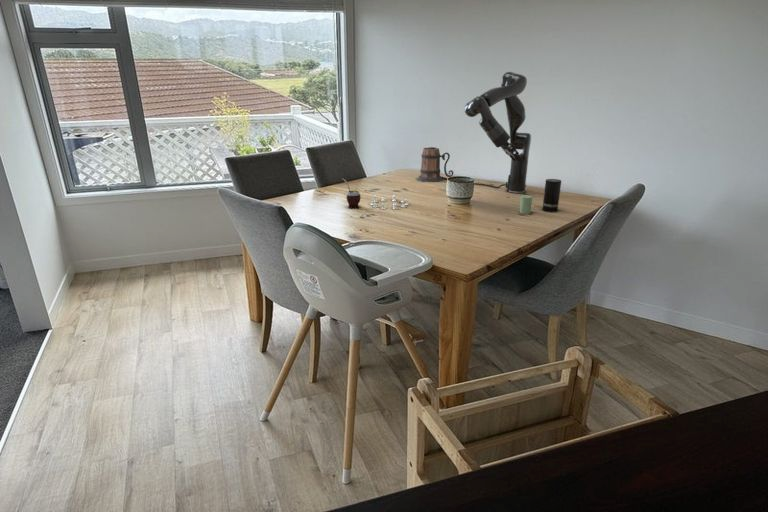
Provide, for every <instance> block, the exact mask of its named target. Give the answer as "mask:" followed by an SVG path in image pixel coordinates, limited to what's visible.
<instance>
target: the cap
mask: <svg viewBox="0 0 768 512" xmlns="http://www.w3.org/2000/svg"><path fill="white" fill-rule="evenodd" d="M532 205H533V196H532V195H529V194H524V195H521V196H520V204H519V214H522V215H529V214H532Z"/></svg>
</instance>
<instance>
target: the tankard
mask: <svg viewBox="0 0 768 512" xmlns="http://www.w3.org/2000/svg"><path fill="white" fill-rule="evenodd" d="M446 155H447V159H446V158H445V157H446ZM450 157H451V155H450V153H449V152H444V153H442V155H441V154H440V148H438V147H434V146H429V147H423V148H422V152H421V161H420V162H421V163H420V170H419V171H420V173H419V175H418V177H417V178H416V180H417V181H418V182H425V183H438V182H439V183H440V182H442V181H444V179H443V178H442V177H443V176H441V159H442V160H443V161H445V162H444V165H443V171H444V175H445V176H446V178H451V177H453V175H454V170H453V169H451V170H448V172H447V164H448V162H449V161H450Z"/></svg>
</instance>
